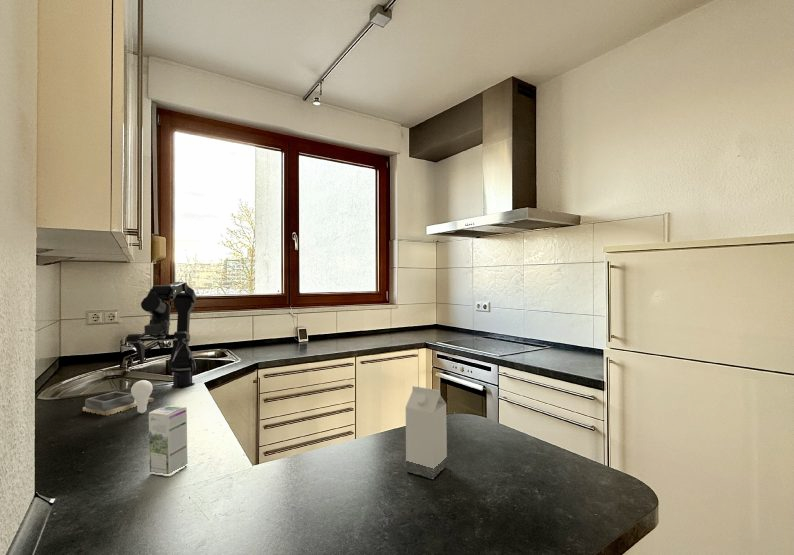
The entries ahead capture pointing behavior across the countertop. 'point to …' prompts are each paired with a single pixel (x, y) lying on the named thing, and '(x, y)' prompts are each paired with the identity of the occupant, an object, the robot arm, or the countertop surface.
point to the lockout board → (110, 403)
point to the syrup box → (168, 439)
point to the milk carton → (426, 427)
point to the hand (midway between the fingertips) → (157, 362)
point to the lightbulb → (141, 394)
